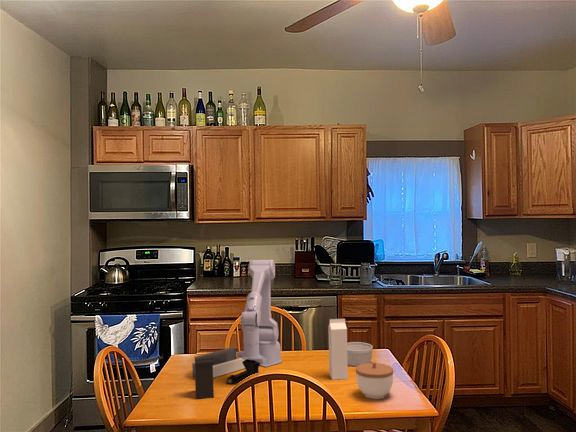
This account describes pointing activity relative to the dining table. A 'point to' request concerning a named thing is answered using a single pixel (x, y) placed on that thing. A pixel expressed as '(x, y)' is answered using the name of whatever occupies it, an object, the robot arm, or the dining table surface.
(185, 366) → the dining table surface
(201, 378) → the phone stand
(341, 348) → the milk
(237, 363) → the pad
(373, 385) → the lidded bowl
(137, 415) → the dining table surface
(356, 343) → the ramekin
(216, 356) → the tester frame
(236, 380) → the electric trimmer
